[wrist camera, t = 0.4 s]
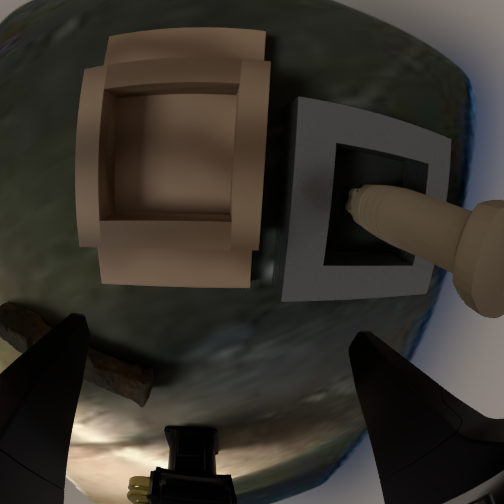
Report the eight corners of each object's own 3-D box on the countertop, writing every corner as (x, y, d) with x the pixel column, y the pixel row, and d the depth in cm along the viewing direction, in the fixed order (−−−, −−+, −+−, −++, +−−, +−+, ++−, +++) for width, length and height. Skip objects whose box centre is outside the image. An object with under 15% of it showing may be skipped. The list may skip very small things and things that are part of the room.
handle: (335, 163, 20) (497, 183, 6) (395, 188, 22) (542, 231, 7) (318, 220, 22) (455, 313, 7) (380, 238, 23) (511, 319, 9)
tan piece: (248, 281, 23) (254, 306, 19) (106, 277, 21) (88, 300, 17) (263, 37, 16) (273, 13, 12) (114, 41, 15) (96, 21, 11)
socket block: (406, 278, 25) (426, 293, 21) (272, 281, 23) (281, 301, 19) (426, 139, 20) (451, 139, 17) (285, 106, 19) (298, 96, 15)
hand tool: (159, 363, 25) (152, 396, 20) (149, 387, 25) (142, 419, 21) (8, 281, 20) (-17, 299, 16) (7, 309, 21) (-15, 329, 16)
